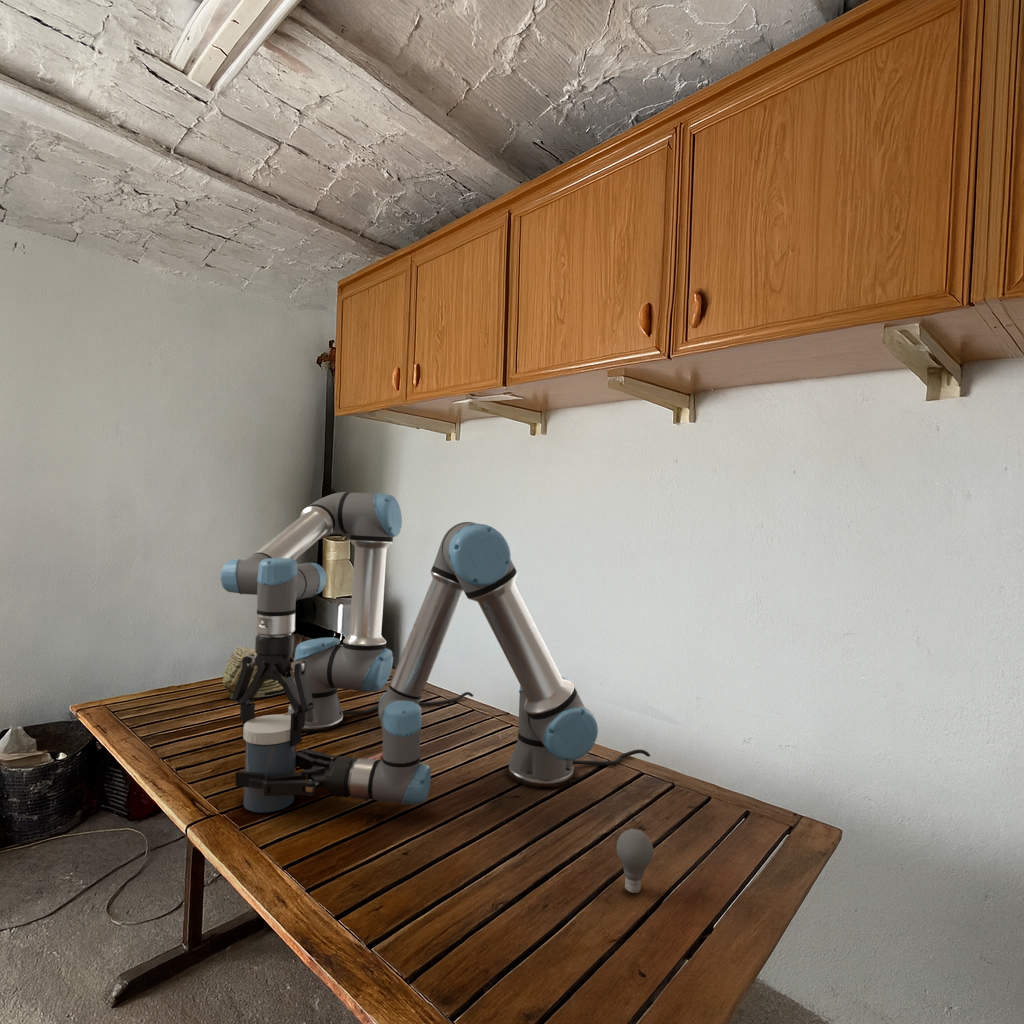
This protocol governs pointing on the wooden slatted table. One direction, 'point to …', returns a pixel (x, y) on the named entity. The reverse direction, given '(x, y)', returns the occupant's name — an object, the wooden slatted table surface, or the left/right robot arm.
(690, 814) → the wooden slatted table surface
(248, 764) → the jar
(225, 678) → the fossil
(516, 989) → the wooden slatted table surface
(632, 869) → the light bulb
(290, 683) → the left robot arm
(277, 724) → the lid
